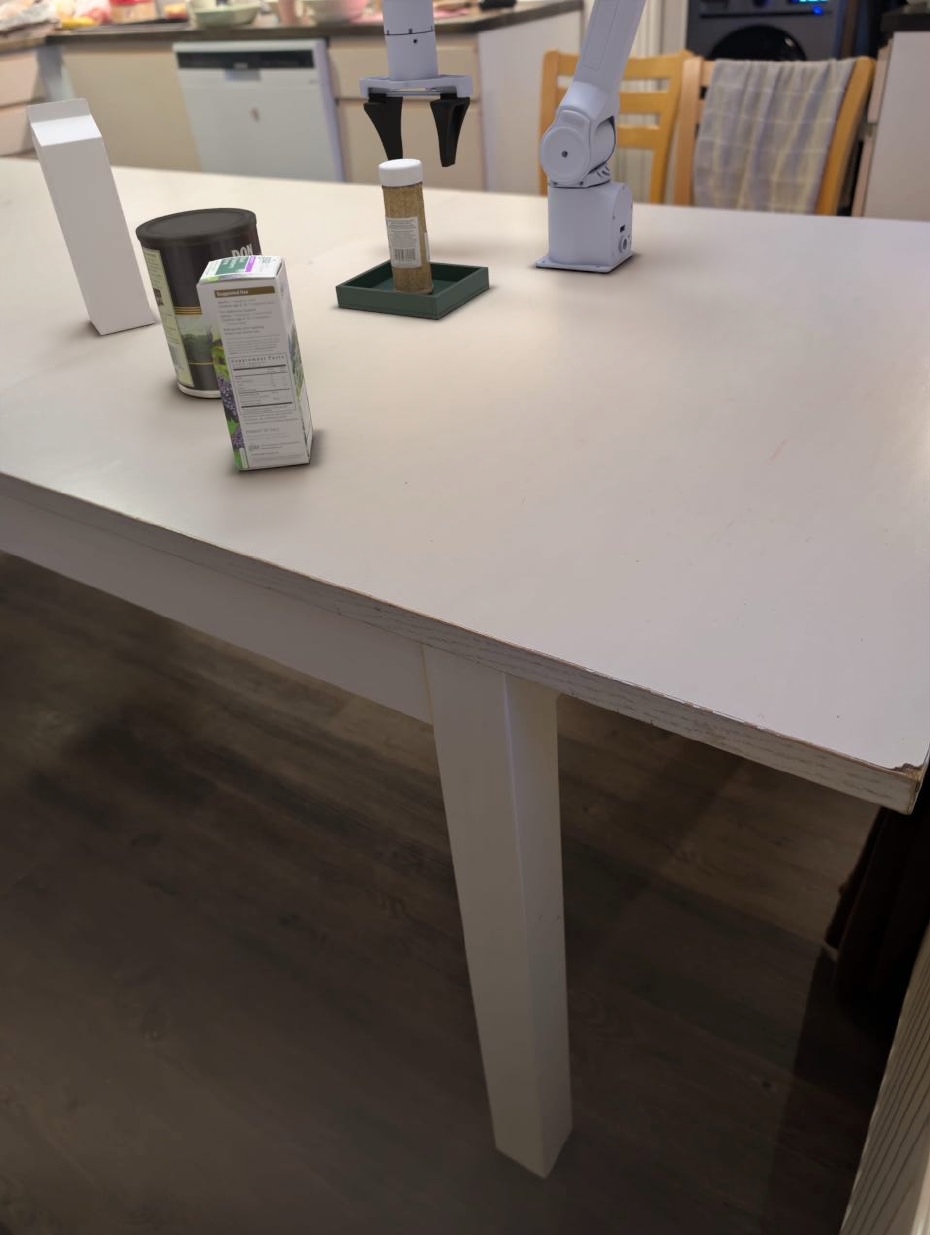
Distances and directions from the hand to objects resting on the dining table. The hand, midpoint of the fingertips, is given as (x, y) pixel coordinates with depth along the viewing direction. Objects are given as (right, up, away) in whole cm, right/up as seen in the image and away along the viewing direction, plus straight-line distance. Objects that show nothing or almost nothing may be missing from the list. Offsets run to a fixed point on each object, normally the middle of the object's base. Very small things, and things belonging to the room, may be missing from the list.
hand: (421, 164), depth 110 cm
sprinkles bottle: (-1, -19, -8) cm, 21 cm away
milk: (-34, -22, -8) cm, 41 cm away
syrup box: (-10, -42, -38) cm, 57 cm away
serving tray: (0, -19, -8) cm, 21 cm away
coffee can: (-17, -32, -24) cm, 44 cm away
